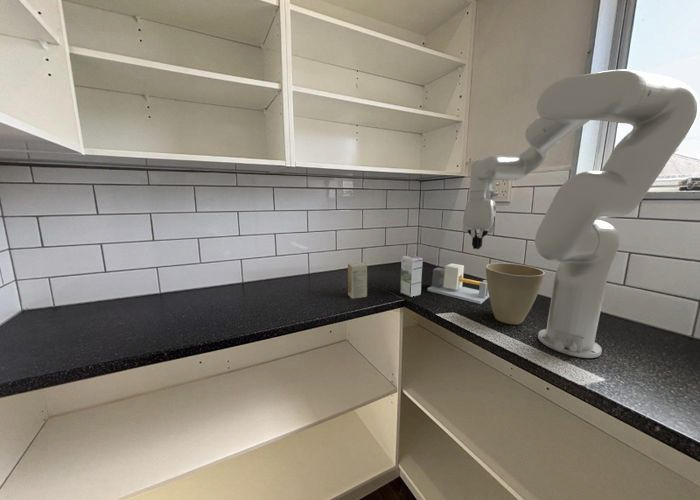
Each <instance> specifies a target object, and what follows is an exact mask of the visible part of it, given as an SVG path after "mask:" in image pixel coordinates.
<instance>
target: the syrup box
mask: <svg viewBox="0 0 700 500" xmlns="http://www.w3.org/2000/svg"><path fill="white" fill-rule="evenodd" d="M423 261H424V260H423V257H420V256H416V255H413V254H412V255H411V254H410V255H404V256H401V262H400V263H401V267H400V291H399V293H400V294H403V295H405V296H406V297H408V298H409V297H410V298H413V296H414V297H417V296H420V295H421V294H422V276H423V275H422V273H423Z"/></svg>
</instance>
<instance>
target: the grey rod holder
mask: <svg viewBox="0 0 700 500" xmlns="http://www.w3.org/2000/svg"><path fill="white" fill-rule="evenodd" d="M444 275H445V267H444V268H443V267H435V268H434V269H432V277H431V278H432V279H431V280H432V281H431V286H429V287H427V289H426V290H427V292H431V293H435V294H439V295H443V296H446V297H451V298H454V299H459V300H463V301H466V302H470V303H474V304H478V305H482V304H483V303H484V302H485V301H486V300H488V299H489V293H488V287H487V279H483V280H482V281H479V280H478V281H477V280H473V279H468V278H464V277H463V278H459V280H458V281H461V282H463V283H465V284H470V285H476V286H479V288H478V289H475V288H471V287H467V286H462V287H460V288H459V289H457V290H454V289H450V288H445V287H444Z"/></svg>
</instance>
